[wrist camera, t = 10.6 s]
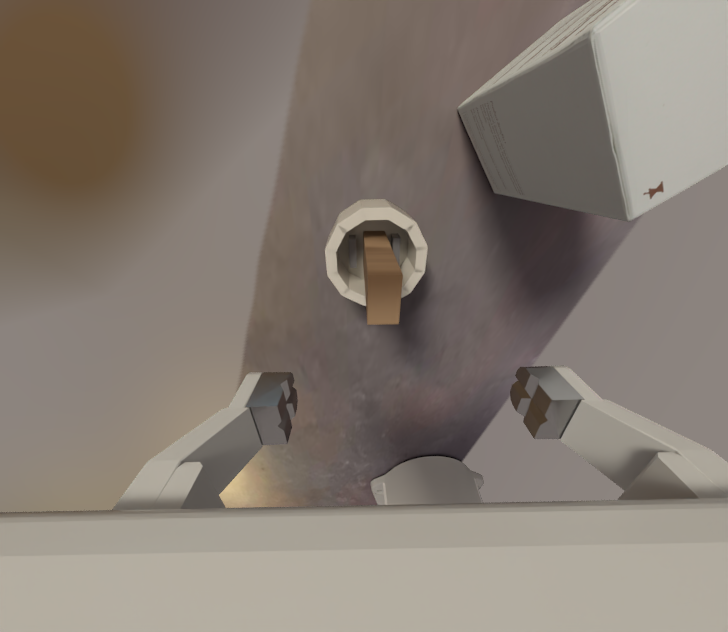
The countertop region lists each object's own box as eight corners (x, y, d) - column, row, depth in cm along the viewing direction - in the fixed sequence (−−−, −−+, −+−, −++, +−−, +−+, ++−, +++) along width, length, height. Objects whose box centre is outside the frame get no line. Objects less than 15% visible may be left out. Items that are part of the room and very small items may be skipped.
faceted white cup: (411, 282, 26) (421, 304, 22) (333, 284, 26) (330, 307, 22) (417, 198, 22) (431, 206, 18) (326, 200, 22) (321, 209, 18)
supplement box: (583, 132, 20) (857, 99, 9) (492, 195, 22) (627, 229, 11) (557, 19, 17) (931, -239, 6) (453, 104, 19) (589, 29, 8)
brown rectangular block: (383, 264, 24) (398, 324, 15) (363, 264, 24) (367, 324, 15) (384, 230, 22) (402, 274, 14) (363, 230, 22) (368, 275, 13)
